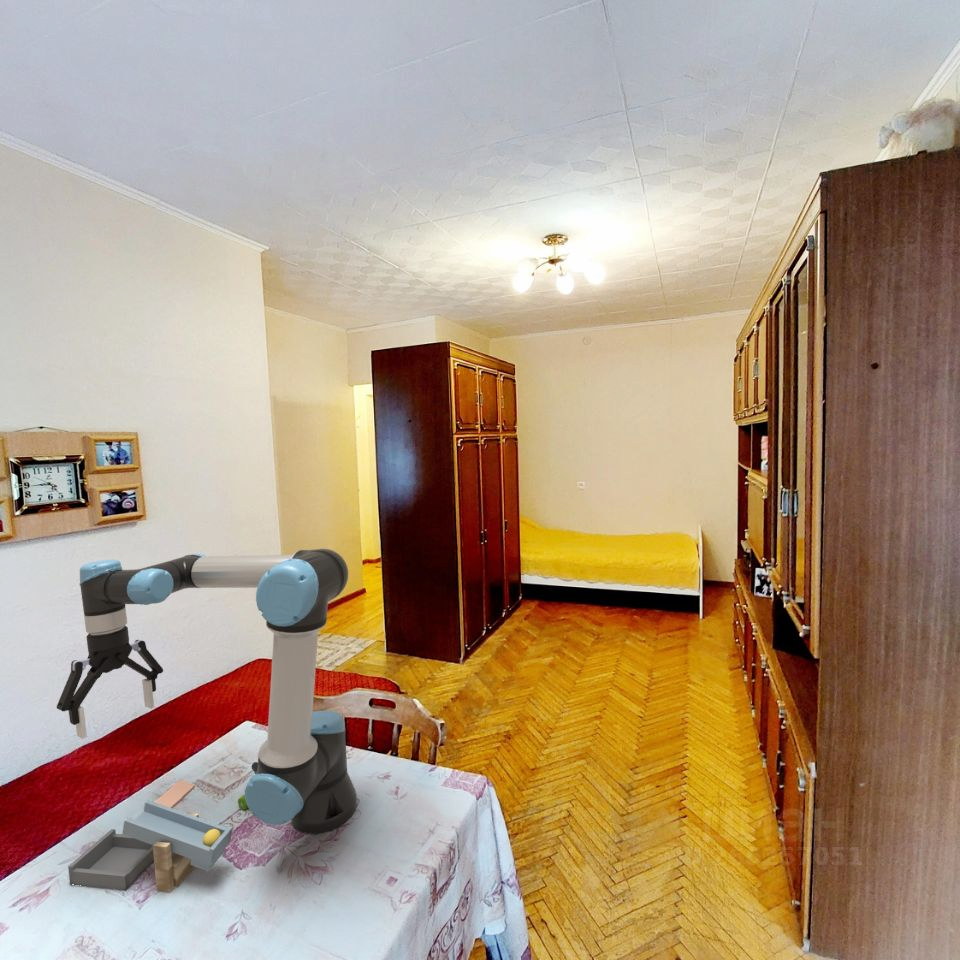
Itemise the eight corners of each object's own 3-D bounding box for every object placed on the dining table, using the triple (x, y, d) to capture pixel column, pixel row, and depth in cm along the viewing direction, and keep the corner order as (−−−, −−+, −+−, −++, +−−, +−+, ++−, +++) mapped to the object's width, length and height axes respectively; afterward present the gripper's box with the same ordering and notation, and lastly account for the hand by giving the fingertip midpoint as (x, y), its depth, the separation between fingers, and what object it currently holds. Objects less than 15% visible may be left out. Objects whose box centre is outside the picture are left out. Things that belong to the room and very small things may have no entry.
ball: (221, 842, 103) (226, 829, 103) (211, 854, 100) (215, 841, 100) (208, 835, 103) (212, 822, 103) (197, 848, 100) (201, 834, 100)
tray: (164, 850, 109) (163, 833, 109) (126, 890, 99) (124, 871, 99) (113, 846, 111) (111, 829, 111) (70, 885, 101) (68, 866, 101)
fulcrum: (204, 856, 107) (200, 813, 107) (172, 892, 98) (168, 847, 98) (187, 854, 108) (184, 812, 107) (154, 891, 99) (150, 845, 99)
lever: (255, 816, 114) (259, 795, 113) (207, 875, 98) (212, 851, 98) (178, 790, 117) (181, 769, 116) (119, 843, 101) (123, 819, 101)
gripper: (157, 610, 125) (165, 693, 126) (29, 647, 104) (41, 746, 105) (173, 613, 121) (182, 698, 122) (44, 652, 100) (57, 755, 101)
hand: (117, 720), depth 114 cm, fingers open, 13 cm apart
